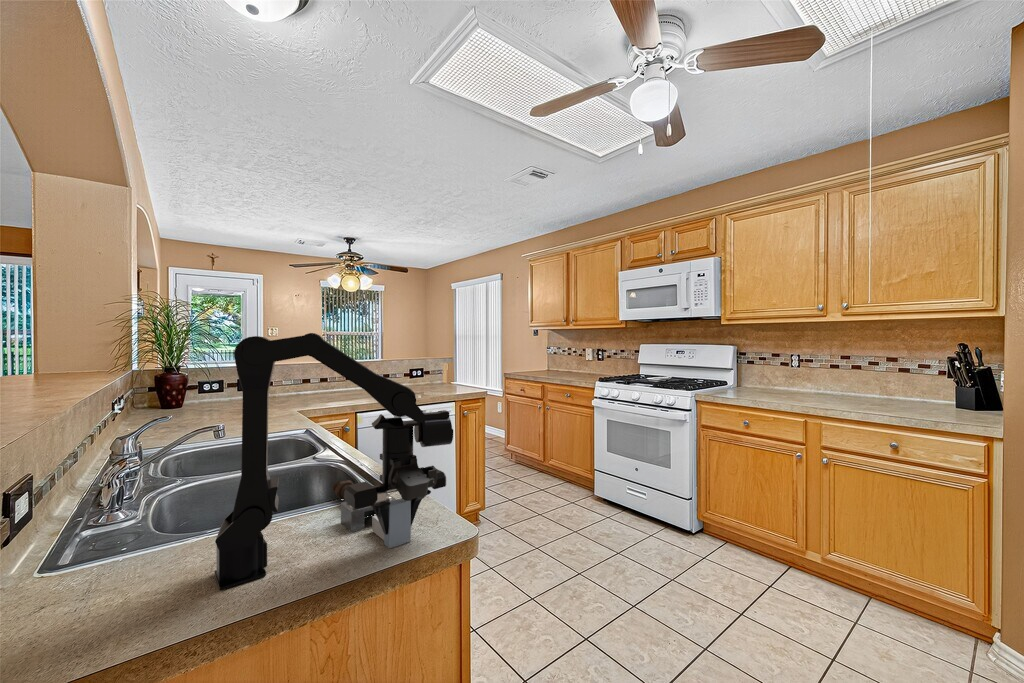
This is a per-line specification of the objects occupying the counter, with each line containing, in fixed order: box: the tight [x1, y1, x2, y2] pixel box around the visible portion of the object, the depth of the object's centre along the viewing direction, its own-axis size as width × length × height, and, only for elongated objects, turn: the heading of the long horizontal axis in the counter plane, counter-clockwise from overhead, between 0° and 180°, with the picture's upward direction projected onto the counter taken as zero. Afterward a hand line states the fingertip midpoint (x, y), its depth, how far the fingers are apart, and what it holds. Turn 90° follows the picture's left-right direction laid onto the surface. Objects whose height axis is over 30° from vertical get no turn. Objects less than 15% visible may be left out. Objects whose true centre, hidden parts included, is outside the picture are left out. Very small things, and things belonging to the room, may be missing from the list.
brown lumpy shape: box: [332, 479, 354, 501], centre depth 104 cm, size 6×5×15 cm
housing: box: [340, 493, 397, 533], centre depth 94 cm, size 10×6×5 cm, turn 131°
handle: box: [371, 497, 412, 549], centre depth 86 cm, size 4×9×8 cm, turn 41°
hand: (397, 530), depth 83 cm, fingers closed on handle, 4 cm apart
